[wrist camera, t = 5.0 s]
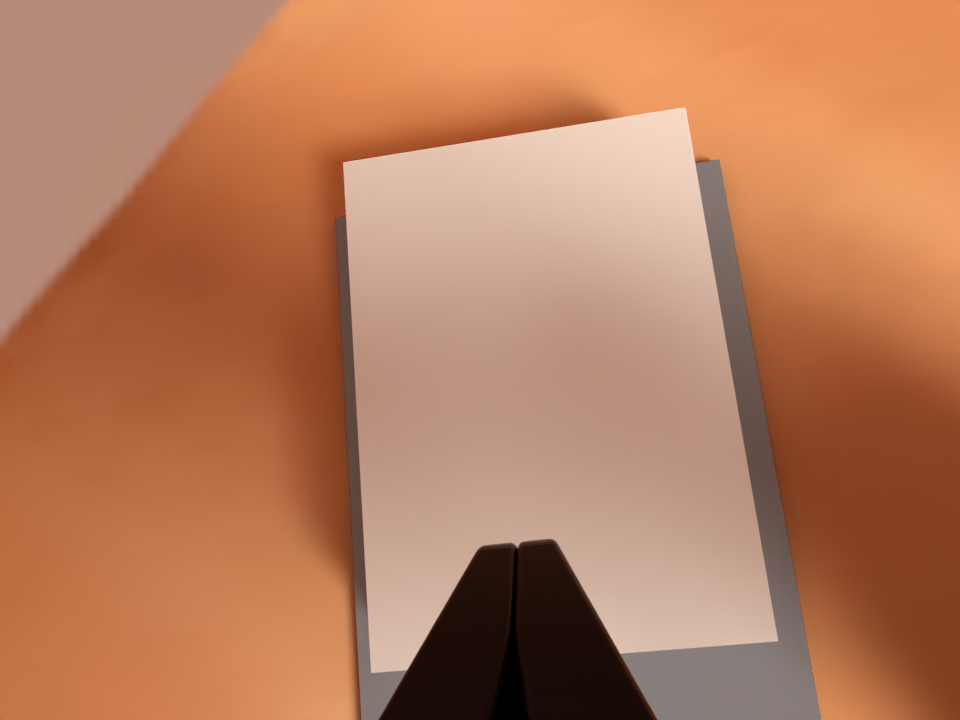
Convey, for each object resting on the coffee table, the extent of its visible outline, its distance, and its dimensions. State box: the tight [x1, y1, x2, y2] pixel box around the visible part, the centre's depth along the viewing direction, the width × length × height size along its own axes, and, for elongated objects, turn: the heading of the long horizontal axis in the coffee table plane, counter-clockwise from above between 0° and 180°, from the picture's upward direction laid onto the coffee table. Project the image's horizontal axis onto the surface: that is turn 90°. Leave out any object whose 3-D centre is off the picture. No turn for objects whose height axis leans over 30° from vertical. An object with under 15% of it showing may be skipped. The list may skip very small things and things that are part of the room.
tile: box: [343, 107, 778, 673], centre depth 16 cm, size 2×7×10 cm
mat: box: [335, 160, 821, 720], centre depth 17 cm, size 14×9×1 cm, turn 5°
